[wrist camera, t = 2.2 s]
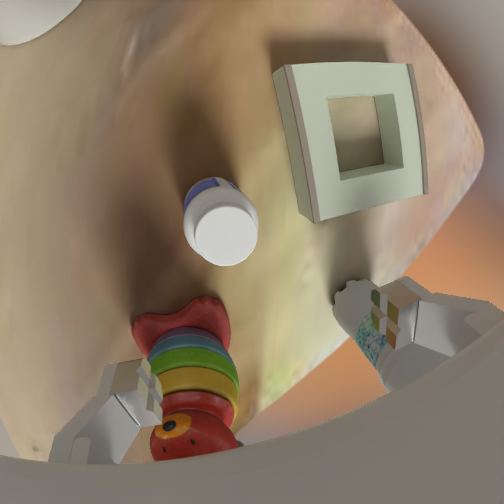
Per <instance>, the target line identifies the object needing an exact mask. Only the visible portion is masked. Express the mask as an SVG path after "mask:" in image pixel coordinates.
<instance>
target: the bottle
mask: <svg viewBox="0 0 504 504" xmlns="http://www.w3.org/2000/svg"><path fill="white" fill-rule="evenodd" d="M376 288H379V287H378V286H377V285H375V284H374V283H372V282H371V281H369V280H366V279H360V280H359V281H354V280H350V281H348V282H346V288H345V289H344V290H343V291H337V292H336V293H335V304H334V305H333V307H332V310H333V314H334V317H335V318H336V320H337V322H338V323H339V325H340V326H341V327H342V328H343V329H344V331H345V332H346V333H347V334H348V335H349V336H350V337H351V338H352V339H353V340H354V341H355V342H356V343H357V345H358V346H359V348H360V349H361V350H362V352H363V353H364V354H365V355H366V357H367V358H368V359H369V360H370V362H371V363H372V365H373V366H374V367H375V369H376V370H377V371H378V373H379V378H380V381H381V383H382V384H384V386H385V388H386V391H387V392H388V393H390V392H392V391H394V390H396V389H398V388H400V387H402V386H403V385H405V384H407V383H409V382H411V381H413V380H414V379H416V378H418V377H420V376H421V375H423V374H425V373H427V372H428V371H430V370H432V369H433V368H435V367H437V366H438V365H440V364H441V363H443V362H445V361H446V360H448V359H449V358H451V357H450V356H448V355H445V354H442V353H440V352H437V351H434V350H432V349H429V348H426V347H424V346H421V345H419V344H416V343H414V342H412V343H410V344H408V345H406V346H404V347H402V348H400V349H397V350H394V349H393V348H392V347H391V345H390V344H389V343H388V342H387V341H386V335H384V334H380V333H379V332H378V331H377V330H376V329H375V327H374V325H373V323H372V319H371V309H372V307H373V305H374V303H373V302H372V301H371V292H372V290H373V289H376Z"/></svg>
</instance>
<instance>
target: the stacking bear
mask: <svg viewBox="0 0 504 504" xmlns="http://www.w3.org/2000/svg"><path fill="white" fill-rule="evenodd" d="M132 335H133V337H134V340H135V342H136V343H137V345H138V347H139V348H140V350H141V351H142V352H143V353H144V355H145V356H146V357H147V361H148V362H149V364H150V366H151V370H150V372H151V373H153V374H155V375H156V376H157V378H158V379H159V382H160V384H161V387H162V392H163V400H162V402H161V403H160V404H159V405H160V407H161V408H162V424H160V425H154V426H155V428H154V430H153V432H152V434H151V438H150V449H151V454H152V456H153V459H154V461H164V460H172V459H180V458H187V457H193V456H199V455H205V454H210V453H216V452H221V451H225V450H230V449H234V448H238V444H237V441H236V439H235V437H234V435H233V433H232V432H231V430H230V429H229V427H230V426H231V424H232V422H233V421H234V419H235V417H236V415H237V412H238V403H239V397H238V395H239V381H238V375H237V371H236V367H235V365H234V363H233V361H232V359H231V357H230V355H229V353H228V352H227V351H228V348H229V344H230V335H231V332H230V323H229V318H228V315H227V312H226V310H225V307H224V305H223V304H222V302H221V301H220V300H218V299H213V298H212V297H210V296H204V297H198V298H195V299H193V300H192V301H191V302H190V303H189V304H188V305H187V306H186V307H185V308H184V309H182V310H181V311H179V312H177V313H174V314H170V315H158V314H152V313H146V314H143V315H142V316H138V317H136V318H135V320H134V323H133V325H132Z"/></svg>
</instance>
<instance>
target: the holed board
mask: <svg viewBox="0 0 504 504" xmlns="http://www.w3.org/2000/svg"><path fill="white" fill-rule="evenodd" d="M272 77H273V81H274V85H275V90H276V94H277V99H278V103H279V108H280V112H281V117H282V122H283V126H284V131H285V136H286V141H287V146H288V151H289V156H290V161H291V167H292V172H293V178H294V183H295V189H296V194H297V200H298V206H299V212H300V214H302V215H303V216H304V217H306V218H307V219H309V220H310V221H311V222H313V223H314V224H316V223H319V222H321V221H322V220H326V219H330V218H333V217H337V216H341V215H345V214H348V213H352V212H356V211H360V210H363V209H367V208H371V207H375V206H379V205H382V204H386V203H390V202H394V201H398V200H402V199H405V198H409V197H413V196H417V195H421V194H424V195H425V194H428V173H427V158H426V147H425V137H424V129H423V121H422V114H421V107H420V101H419V95H418V90H417V85H416V80H415V75H414V70H413V66H412V64H397V63H380V62H325V63H307V64H294V65H291V64H287V65H283V66H282V67H280V68H279V69H278V70H276V71H275V72H274V73H272ZM363 96H374V98H375V104H376V109H377V115H378V121H379V128H380V135H381V142H382V150H383V158H384V164H380V165H375V166H369V167H364V168H359V169H354V170H349V171H344V172H339V168H338V161H337V155H336V148H335V142H334V136H333V131H332V125H331V120H330V114H329V109H328V104H327V99H335V98H347V97H363Z"/></svg>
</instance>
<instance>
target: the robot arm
mask: <svg viewBox="0 0 504 504" xmlns="http://www.w3.org/2000/svg"><path fill="white" fill-rule="evenodd" d="M81 1H82V0H0V44H3V45H18V44H22V43H25V42H28V41H30V40H32V39H34V38H36V37H38V36H40V35H42V34H44V33H45V32H47V31H48V30H50V29H51V28H53V27H54V26H55V25H57V24H58V23H59V22H60V21H62V20H63V19H64V18H65V17H66V16H67V15H69V14H70V13H71V12H72V11H73V10H74V9H75V8H76V7H77V6H78V5H79V3H80V2H81ZM371 301H372V302H373V303H374V305H373V307H372V309H371V319H372V323H373V325H374V327H375V329H376V330H377V331H378V332H379V333H380V334H384V335H386V341H387V342H388V343H389V344H390V345H391V347H392V348H393V349H394V350H397V349H400V348H402V347H404V346H406V345H408V344H410V343H412V342H414V343H416V344H419V345H421V346H424V347H426V348H429V349H432V350H434V351H437V352H440V353H442V354H445V355H448V356H450V357H451V358H449V359H448V360H446V361H445V362H443V363H441V364H440V365H438V366H437V367H435V368H433V369H432V370H430V371H428V372H427V373H425V374H423V375H421V376H420V377H418V378H416V379H414V380H413V381H411V382H409V383H407V384H405V385H403V386H402V387H400V388H398V389H396V390H394V391H392V392H390V393H388V394H386V395H384V396H382V397H380V398H378V399H376V400H374V401H371V402H369V403H367V404H365V405H363V406H361V407H358V408H356V409H354V410H352V411H349V412H347V413H344V414H342V415H339V416H337V417H334V418H332V419H329V420H327V421H324V422H321V423H319V424H316V425H313V426H310V427H307V428H305V429H302V430H299V431H296V432H293V433H289V434H287V435H283V436H280V437H277V438H273V439H270V440H266V441H263V442H259V443H255V444H251V445H247V446H243V447H239V448H234V449H230V450H225V451H221V452H216V453H210V454H205V455H199V456H193V457H187V458H180V459H172V460H164V461H154V462H143V463H128V464H119V463H120V461H121V460H122V458H123V457H124V455H125V453H126V452H127V450H128V448H129V447H130V445H131V444H132V442H133V440H134V439H135V437H136V435H137V434H138V432H139V431H140V428H142V427H148V426H154V425H160V424H162V408H161V407H160V405H159V404H160V403H161V402H162V400H163V392H162V387H161V384H160V382H159V379H158V378H157V376H156V375H155V374H153V373H151V372H150V370H151V366H150V364H149V362H148V361H147V359H145V358H141V359H136V360H131V361H125V362H119V363H114V364H109V365H107V366H105V368H104V372H103V375H102V379H101V382H100V386H99V389H98V393H97V397H93V398H92V399H91V400H90V401H89V402H88V403H87V404H86V405H85V406H84V407H83V408H82V409H81V410H80V411H79V412H78V413H77V414H76V415H75V416H74V417H73V418H72V419H71V420H70V421H69V422H68V423H67V424H66V425H65V426H64V427H63V428H62V430H61V431H60V432H59V433H58V434H57V435H56V436H55V437H54V441H53V444H52V448H51V451H50V455H49V459H48V462H43V461H35V460H27V459H20V458H14V457H8V456H2V455H0V504H504V312H503V311H501V310H500V309H499V308H497V307H496V306H494V305H493V304H492V303H490V302H488V301H483V300H477V299H471V298H465V297H459V296H453V295H447V294H441V293H434V294H432V293H431V292H429V291H428V290H427V289H425V288H424V287H422V286H421V285H419V284H418V283H417V282H415V281H414V280H412V279H411V278H410V277H408V276H404V277H401V278H399V279H397V280H395V281H393V282H391V283H389V284H386V285H384V286H381V287H379V288H376V289H373V290H372V292H371Z"/></svg>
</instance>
